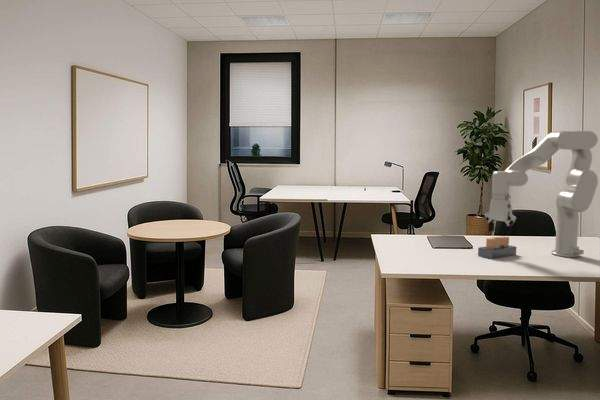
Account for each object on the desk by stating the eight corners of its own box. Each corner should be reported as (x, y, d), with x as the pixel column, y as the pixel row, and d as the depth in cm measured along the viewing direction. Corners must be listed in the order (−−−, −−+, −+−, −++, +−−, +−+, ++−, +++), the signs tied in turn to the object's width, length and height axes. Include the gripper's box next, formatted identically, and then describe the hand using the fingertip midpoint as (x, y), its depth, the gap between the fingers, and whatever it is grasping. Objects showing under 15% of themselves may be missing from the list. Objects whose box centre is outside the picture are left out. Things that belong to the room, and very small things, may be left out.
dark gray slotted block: (516, 254, 273) (516, 246, 272) (491, 258, 263) (492, 250, 262) (501, 251, 279) (502, 243, 279) (477, 255, 270) (478, 247, 269)
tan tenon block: (508, 254, 274) (509, 237, 273) (490, 257, 266) (491, 239, 265) (502, 253, 276) (503, 236, 275) (485, 256, 269) (486, 238, 268)
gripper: (521, 197, 263) (520, 234, 265) (490, 195, 277) (489, 229, 279) (511, 199, 259) (510, 235, 261) (480, 196, 273) (479, 231, 275)
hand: (499, 232), depth 270 cm, fingers open, 9 cm apart
